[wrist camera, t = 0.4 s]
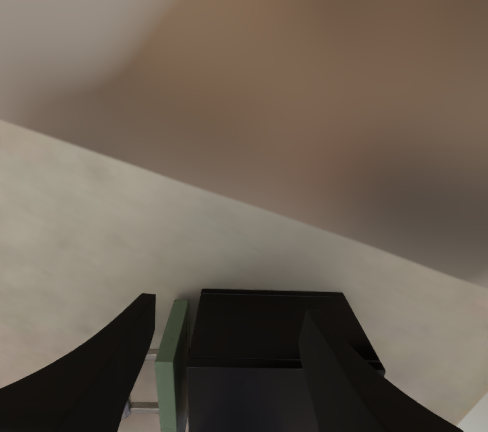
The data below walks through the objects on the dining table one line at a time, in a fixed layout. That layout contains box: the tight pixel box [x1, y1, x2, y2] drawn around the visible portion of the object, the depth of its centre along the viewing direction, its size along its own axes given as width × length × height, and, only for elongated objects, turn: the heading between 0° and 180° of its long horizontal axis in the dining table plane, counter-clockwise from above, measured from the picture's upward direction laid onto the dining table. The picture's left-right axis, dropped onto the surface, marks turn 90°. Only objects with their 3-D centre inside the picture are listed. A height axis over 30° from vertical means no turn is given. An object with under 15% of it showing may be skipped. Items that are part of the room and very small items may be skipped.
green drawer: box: [121, 300, 190, 432], centre depth 24 cm, size 16×11×6 cm
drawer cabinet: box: [186, 289, 385, 432], centre depth 24 cm, size 12×12×8 cm
